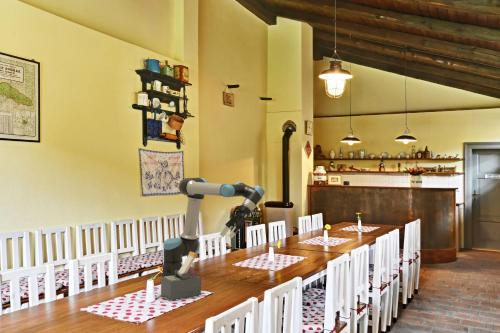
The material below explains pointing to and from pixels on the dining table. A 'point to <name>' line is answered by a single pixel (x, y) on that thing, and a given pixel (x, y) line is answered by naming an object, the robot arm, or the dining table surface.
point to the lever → (187, 263)
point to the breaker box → (180, 286)
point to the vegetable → (191, 271)
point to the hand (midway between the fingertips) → (225, 236)
